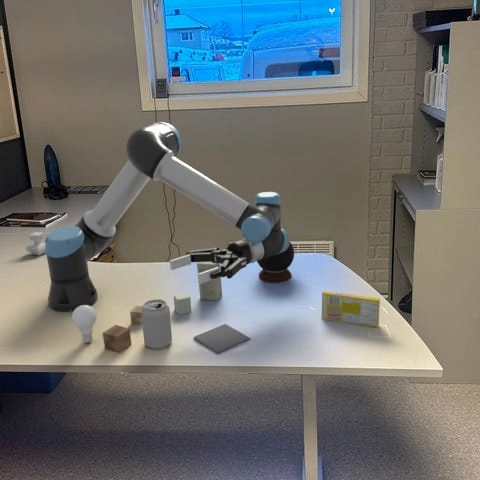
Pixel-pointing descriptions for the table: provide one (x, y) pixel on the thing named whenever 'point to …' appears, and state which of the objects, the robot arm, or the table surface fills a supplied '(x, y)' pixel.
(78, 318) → the lightbulb
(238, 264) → the robot arm
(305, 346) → the table surface
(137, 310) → the oak block
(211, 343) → the coaster
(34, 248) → the stamp
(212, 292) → the skincare box
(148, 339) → the can
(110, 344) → the walnut block
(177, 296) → the sage block
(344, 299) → the candy box
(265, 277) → the black ball on stand
